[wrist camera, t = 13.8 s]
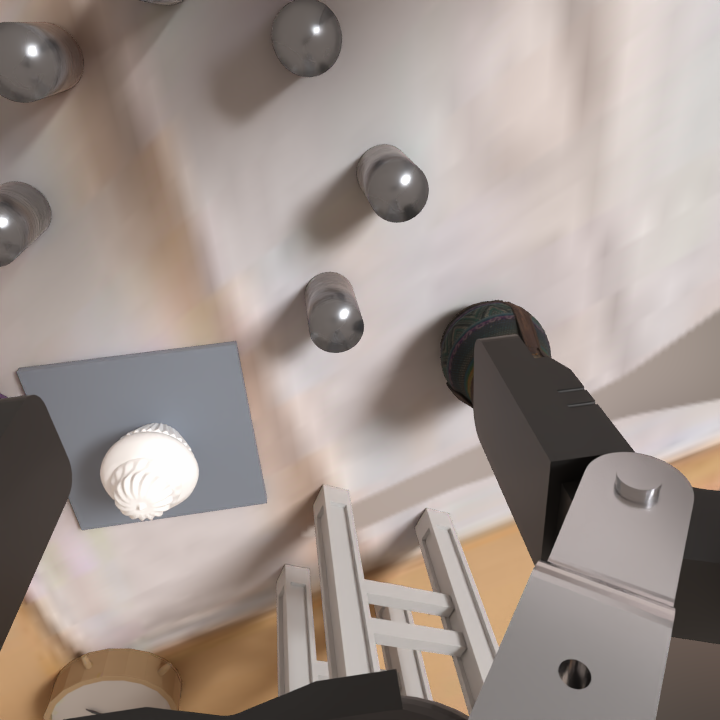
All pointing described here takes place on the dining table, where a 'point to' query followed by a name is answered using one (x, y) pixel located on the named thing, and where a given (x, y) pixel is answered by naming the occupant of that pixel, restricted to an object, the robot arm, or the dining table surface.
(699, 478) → the dining table surface
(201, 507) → the rubber mat
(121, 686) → the alarm clock
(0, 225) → the posts
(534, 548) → the robot arm
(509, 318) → the mate gourd
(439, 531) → the stool
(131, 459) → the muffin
